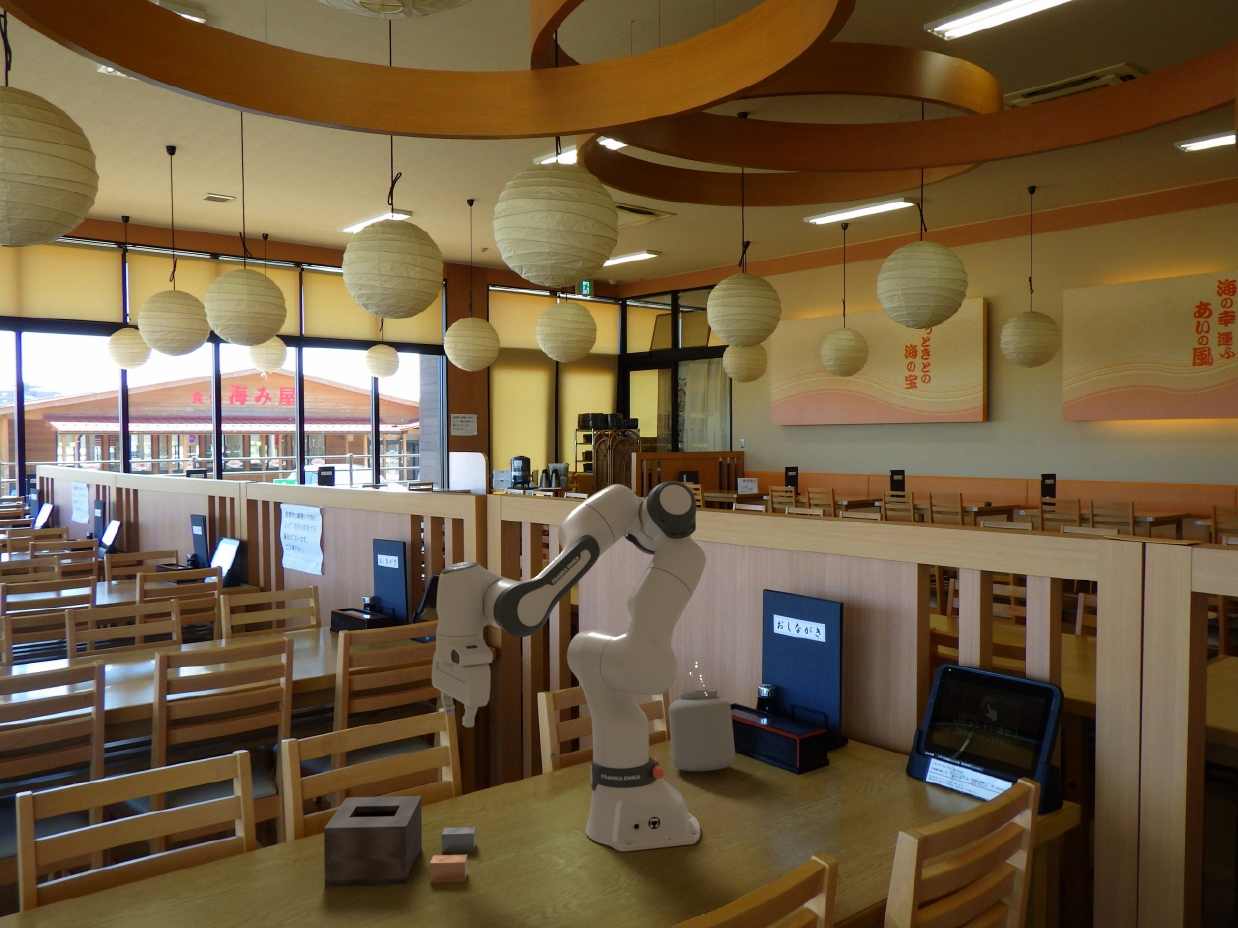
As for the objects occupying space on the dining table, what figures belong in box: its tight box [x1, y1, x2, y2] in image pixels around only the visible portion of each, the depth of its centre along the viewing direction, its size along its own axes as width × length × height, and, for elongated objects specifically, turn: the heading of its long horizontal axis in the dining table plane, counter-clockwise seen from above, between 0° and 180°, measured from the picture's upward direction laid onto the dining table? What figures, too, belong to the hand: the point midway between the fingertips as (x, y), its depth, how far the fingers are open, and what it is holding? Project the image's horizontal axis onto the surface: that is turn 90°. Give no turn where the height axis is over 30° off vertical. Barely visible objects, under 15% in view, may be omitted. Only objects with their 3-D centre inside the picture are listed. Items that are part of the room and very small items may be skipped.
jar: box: [668, 661, 736, 772], centre depth 210 cm, size 19×15×25 cm
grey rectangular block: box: [441, 826, 477, 853], centre depth 167 cm, size 6×3×4 cm, turn 91°
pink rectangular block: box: [429, 854, 468, 883], centre depth 155 cm, size 6×3×4 cm, turn 92°
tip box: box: [323, 795, 423, 887], centre depth 159 cm, size 14×14×10 cm
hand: (458, 720), depth 169 cm, fingers open, 8 cm apart
